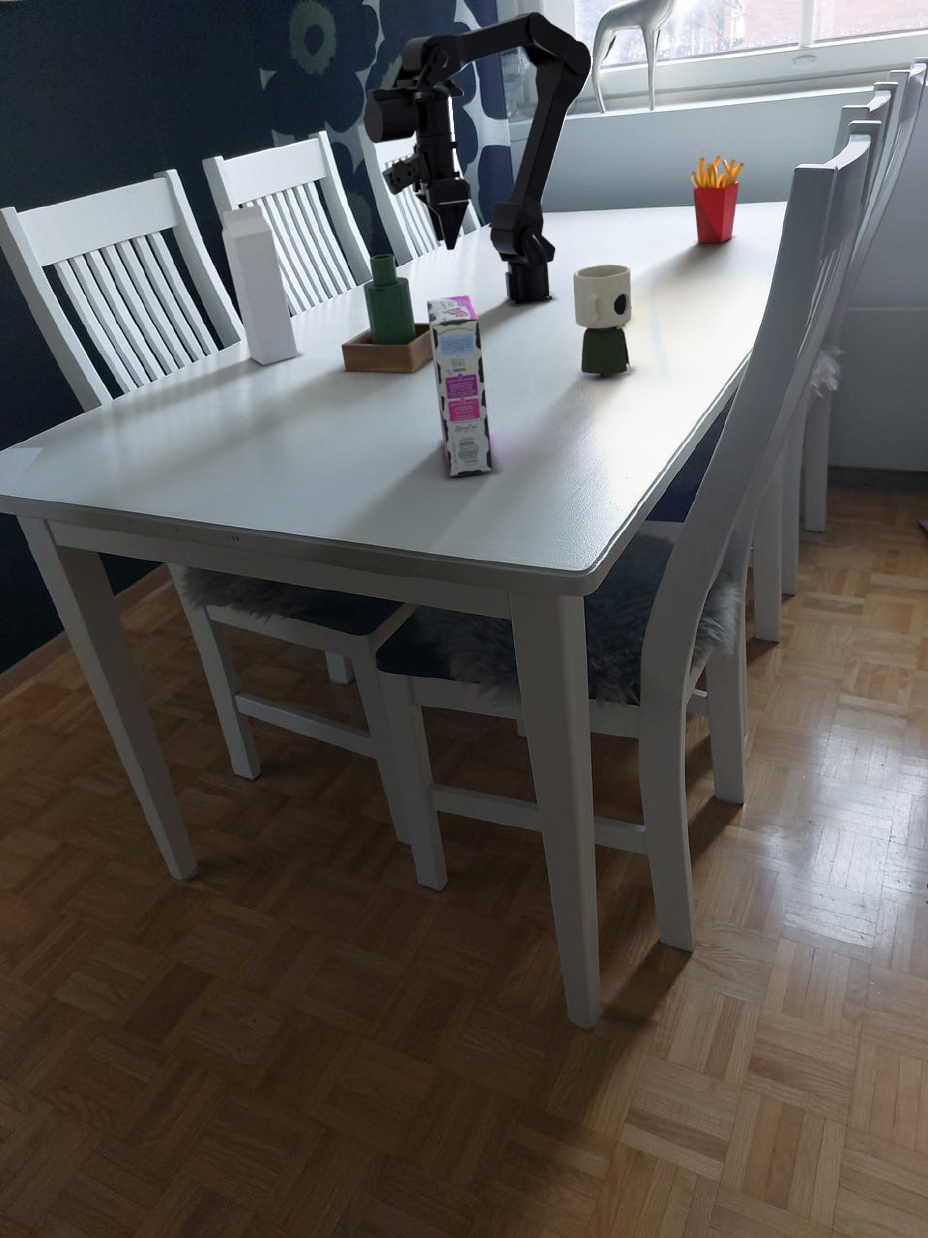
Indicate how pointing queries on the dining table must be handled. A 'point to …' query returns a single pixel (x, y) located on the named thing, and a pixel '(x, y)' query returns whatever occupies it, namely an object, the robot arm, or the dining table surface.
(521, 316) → the dining table surface
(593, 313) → the character mug
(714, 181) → the french fries
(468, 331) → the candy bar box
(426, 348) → the crate
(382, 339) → the bottle
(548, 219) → the dining table surface
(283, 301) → the milk
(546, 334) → the dining table surface
